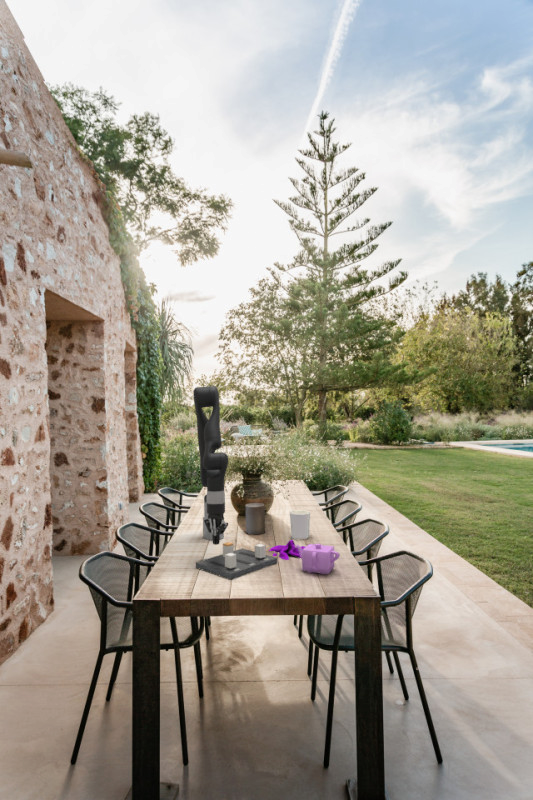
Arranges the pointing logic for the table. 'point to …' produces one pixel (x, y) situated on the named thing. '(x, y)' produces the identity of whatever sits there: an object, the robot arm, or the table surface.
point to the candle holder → (300, 524)
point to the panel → (244, 564)
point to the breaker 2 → (260, 551)
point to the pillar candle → (255, 518)
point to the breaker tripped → (228, 548)
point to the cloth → (286, 550)
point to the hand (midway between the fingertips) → (216, 544)
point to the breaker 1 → (230, 560)
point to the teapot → (318, 558)
